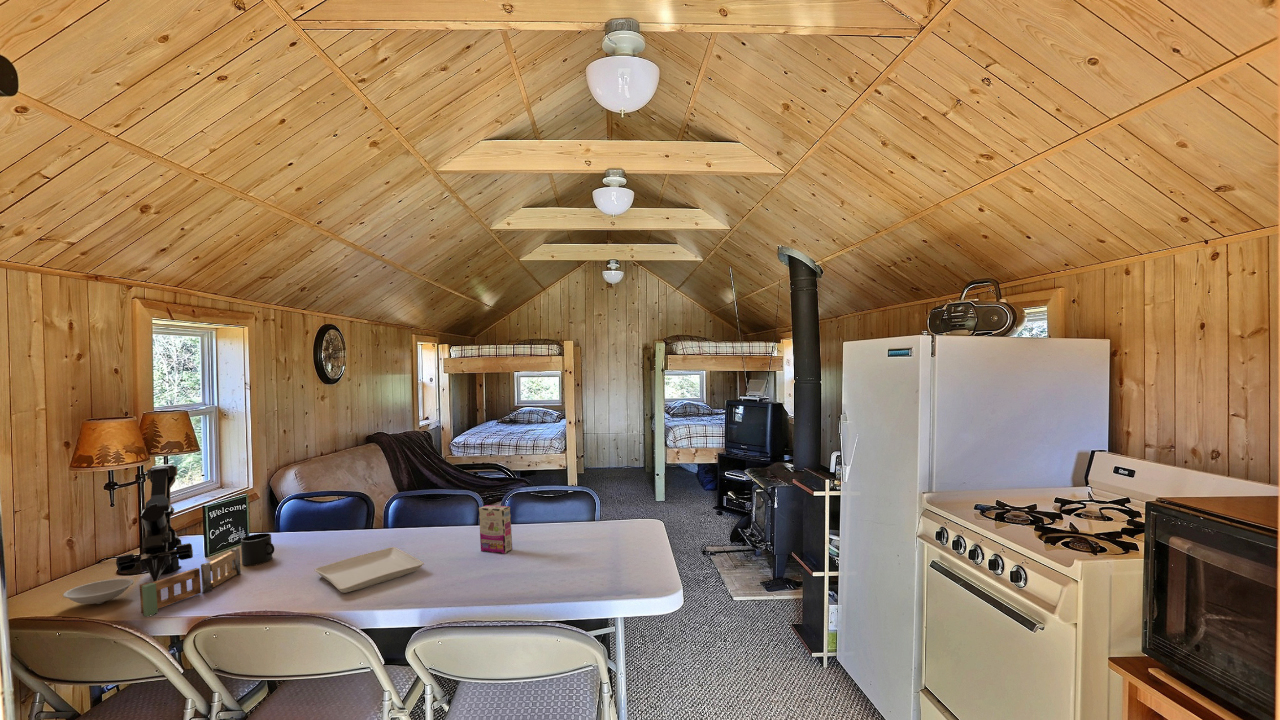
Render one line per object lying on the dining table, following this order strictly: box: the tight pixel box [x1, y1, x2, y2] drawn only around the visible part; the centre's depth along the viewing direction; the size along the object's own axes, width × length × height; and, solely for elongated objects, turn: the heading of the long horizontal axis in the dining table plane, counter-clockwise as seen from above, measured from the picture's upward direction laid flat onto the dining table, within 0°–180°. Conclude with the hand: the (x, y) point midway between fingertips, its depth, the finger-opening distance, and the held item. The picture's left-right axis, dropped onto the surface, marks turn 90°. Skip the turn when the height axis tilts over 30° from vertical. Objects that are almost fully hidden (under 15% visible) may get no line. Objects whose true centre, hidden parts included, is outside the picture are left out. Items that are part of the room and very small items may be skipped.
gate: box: [138, 567, 202, 614], centre depth 180 cm, size 15×2×8 cm, turn 155°
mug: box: [240, 532, 275, 566], centre depth 216 cm, size 9×12×9 cm
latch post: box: [142, 582, 159, 617], centre depth 173 cm, size 2×2×9 cm
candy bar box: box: [478, 504, 513, 554], centre depth 216 cm, size 11×5×16 cm, turn 68°
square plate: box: [314, 546, 425, 594], centre depth 197 cm, size 27×27×4 cm
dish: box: [62, 578, 135, 605], centre depth 183 cm, size 18×14×5 cm
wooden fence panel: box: [200, 547, 242, 594], centre depth 196 cm, size 2×17×9 cm, turn 1°
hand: (155, 581), depth 183 cm, fingers closed
